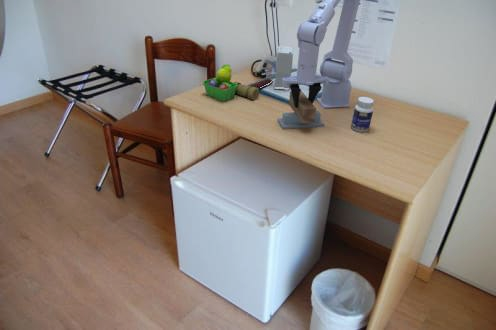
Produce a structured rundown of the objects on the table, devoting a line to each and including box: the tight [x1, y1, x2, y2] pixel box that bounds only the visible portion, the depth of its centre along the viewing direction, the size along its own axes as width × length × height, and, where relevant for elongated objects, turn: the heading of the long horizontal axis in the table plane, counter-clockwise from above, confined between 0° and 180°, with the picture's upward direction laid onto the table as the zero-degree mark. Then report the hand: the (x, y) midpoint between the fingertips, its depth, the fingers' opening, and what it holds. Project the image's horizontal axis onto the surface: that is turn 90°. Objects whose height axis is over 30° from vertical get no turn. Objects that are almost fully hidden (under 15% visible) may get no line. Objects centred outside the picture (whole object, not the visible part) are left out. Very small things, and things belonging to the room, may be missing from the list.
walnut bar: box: [288, 90, 317, 123], centre depth 129 cm, size 4×14×4 cm, turn 12°
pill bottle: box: [350, 96, 374, 133], centre depth 127 cm, size 6×6×10 cm
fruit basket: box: [202, 63, 238, 102], centre depth 145 cm, size 11×9×11 cm
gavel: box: [233, 78, 273, 101], centre depth 154 cm, size 21×5×10 cm
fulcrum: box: [277, 110, 326, 130], centre depth 130 cm, size 14×6×4 cm, turn 102°
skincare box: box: [273, 45, 294, 89], centre depth 154 cm, size 8×6×15 cm
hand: (302, 105), depth 128 cm, fingers closed on walnut bar, 4 cm apart
